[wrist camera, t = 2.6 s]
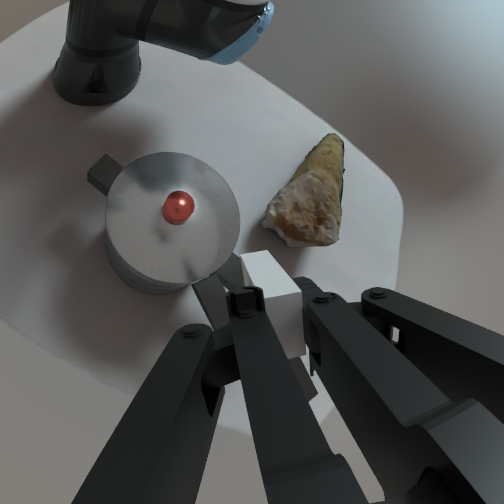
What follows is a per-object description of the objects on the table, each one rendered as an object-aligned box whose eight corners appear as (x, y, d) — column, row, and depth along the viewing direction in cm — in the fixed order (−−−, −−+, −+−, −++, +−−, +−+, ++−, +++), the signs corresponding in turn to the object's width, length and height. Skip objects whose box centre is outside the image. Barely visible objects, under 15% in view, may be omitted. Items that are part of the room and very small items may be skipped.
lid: (87, 178, 27) (89, 131, 20) (203, 146, 34) (230, 104, 28) (205, 428, 26) (240, 452, 19) (308, 358, 33) (357, 357, 26)
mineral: (334, 106, 51) (366, 145, 55) (300, 128, 58) (331, 163, 62) (296, 199, 37) (343, 248, 41) (250, 221, 44) (296, 262, 48)
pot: (63, 231, 33) (54, 201, 25) (126, 162, 39) (136, 122, 31) (231, 355, 39) (265, 357, 31) (273, 276, 45) (311, 261, 37)
